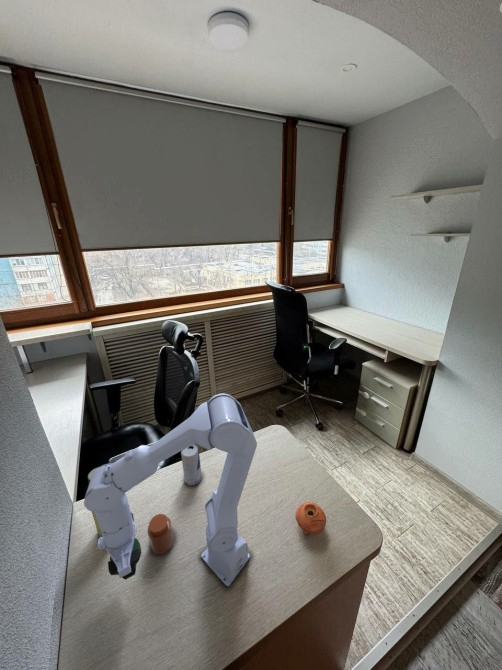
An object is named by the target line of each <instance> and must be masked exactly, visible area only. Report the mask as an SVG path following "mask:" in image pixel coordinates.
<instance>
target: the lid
mask: <svg viewBox="0 0 502 670" xmlns="http://www.w3.org/2000/svg"><path fill="white" fill-rule="evenodd" d="M137 548H139V553H140V557H141V556H142V548H141V543H140V541H139V539H138V538H136V537H135V539H134V544H133V548H132V551H133V550H135V549H137ZM111 560H113V559H112V558H111V556H110V555H109V561H111Z"/></svg>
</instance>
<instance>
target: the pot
mask: <svg viewBox="0 0 502 670" xmlns="http://www.w3.org/2000/svg"><path fill="white" fill-rule="evenodd" d="M295 520H296V522H297V525H298V527H299V528H301V529H302V531H303V534H304V536H307V535H308V533H309V534H318V533H320V532H322V531H323V530H324V528H325V527H326V526H327V517H326V514H325V511H324V509H323V508H321V506H320V505H318V504H317V503H314V502H311V501H310V502H309V501H308V502H303V503H301V504H300V505H299V506H298V507H297V508H296V511H295Z"/></svg>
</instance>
